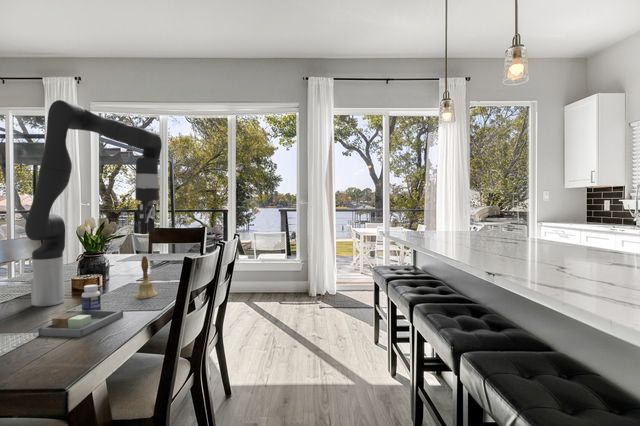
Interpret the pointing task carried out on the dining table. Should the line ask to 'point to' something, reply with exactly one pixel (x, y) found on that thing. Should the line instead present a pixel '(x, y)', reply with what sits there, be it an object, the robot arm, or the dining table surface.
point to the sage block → (79, 321)
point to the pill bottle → (91, 298)
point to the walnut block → (61, 321)
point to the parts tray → (97, 321)
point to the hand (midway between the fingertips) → (147, 232)
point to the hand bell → (145, 282)
